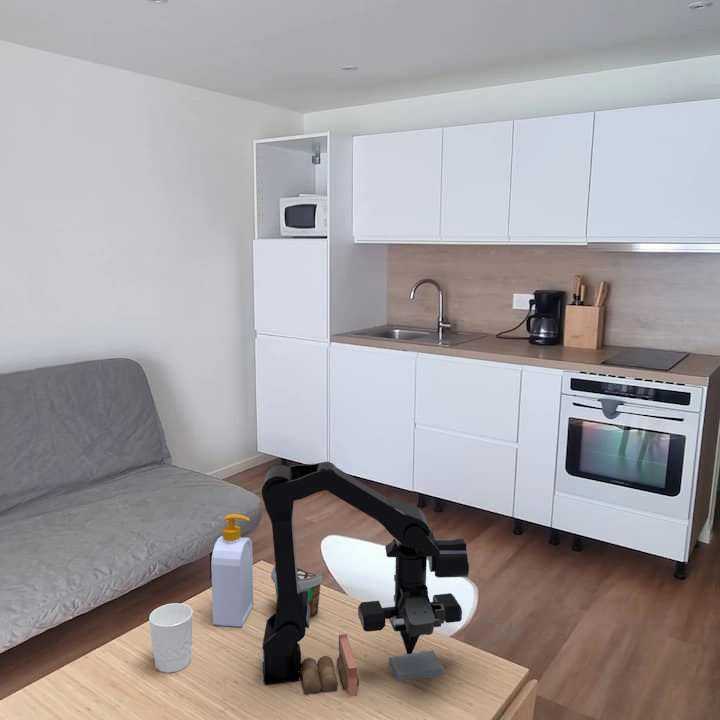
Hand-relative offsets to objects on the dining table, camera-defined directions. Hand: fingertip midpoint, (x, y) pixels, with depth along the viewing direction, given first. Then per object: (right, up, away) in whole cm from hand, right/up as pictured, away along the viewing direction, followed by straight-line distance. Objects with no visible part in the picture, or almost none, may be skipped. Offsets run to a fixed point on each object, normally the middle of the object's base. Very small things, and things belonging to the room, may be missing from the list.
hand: (408, 652), depth 123 cm
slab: (+1, -4, +1) cm, 4 cm away
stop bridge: (-12, -4, -2) cm, 12 cm away
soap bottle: (-36, 0, +18) cm, 41 cm away
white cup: (-45, -3, +2) cm, 45 cm away
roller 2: (-16, -2, -3) cm, 17 cm away
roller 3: (-12, -1, -2) cm, 13 cm away
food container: (-24, 0, +19) cm, 30 cm away
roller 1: (-19, -4, -3) cm, 19 cm away
